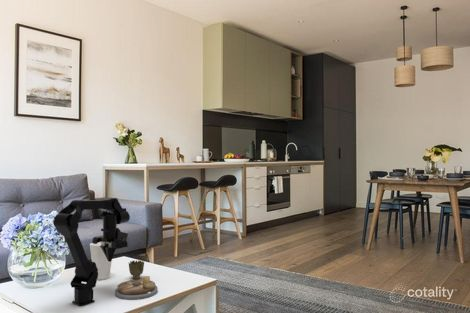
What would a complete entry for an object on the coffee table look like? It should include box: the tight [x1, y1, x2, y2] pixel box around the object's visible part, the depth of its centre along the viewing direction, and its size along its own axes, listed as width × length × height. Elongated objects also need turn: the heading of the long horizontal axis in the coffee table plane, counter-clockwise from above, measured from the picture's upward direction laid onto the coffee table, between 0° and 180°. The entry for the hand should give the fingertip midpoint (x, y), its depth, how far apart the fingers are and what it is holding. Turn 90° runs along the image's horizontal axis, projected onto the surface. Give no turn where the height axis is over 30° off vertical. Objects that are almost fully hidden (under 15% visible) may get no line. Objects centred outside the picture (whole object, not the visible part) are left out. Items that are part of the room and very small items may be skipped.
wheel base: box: [114, 284, 158, 301], centre depth 176 cm, size 18×18×2 cm
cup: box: [89, 242, 112, 281], centre depth 198 cm, size 11×10×17 cm
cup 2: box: [128, 260, 145, 280], centre depth 197 cm, size 8×7×8 cm
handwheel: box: [116, 275, 156, 295], centre depth 176 cm, size 16×16×6 cm
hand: (109, 261), depth 178 cm, fingers closed
